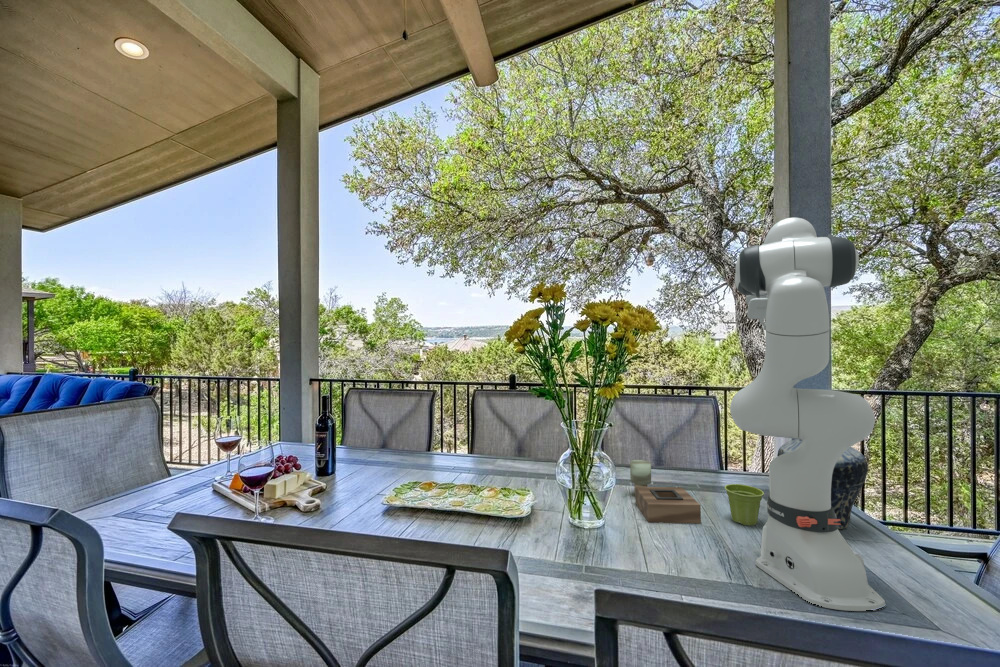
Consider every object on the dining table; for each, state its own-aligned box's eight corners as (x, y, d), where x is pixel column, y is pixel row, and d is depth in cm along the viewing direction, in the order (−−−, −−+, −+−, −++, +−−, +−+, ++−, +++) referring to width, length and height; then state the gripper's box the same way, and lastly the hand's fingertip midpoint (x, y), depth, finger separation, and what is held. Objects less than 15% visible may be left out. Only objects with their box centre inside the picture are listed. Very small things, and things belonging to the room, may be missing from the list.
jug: (891, 540, 104) (887, 418, 105) (811, 540, 105) (808, 418, 105) (827, 507, 125) (825, 406, 126) (761, 507, 125) (759, 406, 126)
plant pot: (753, 514, 120) (753, 484, 121) (771, 529, 111) (771, 496, 111) (719, 513, 121) (719, 483, 121) (734, 528, 112) (733, 495, 112)
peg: (654, 499, 133) (653, 465, 133) (633, 498, 134) (632, 465, 134) (648, 491, 140) (647, 460, 140) (628, 491, 140) (628, 459, 140)
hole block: (700, 523, 115) (700, 503, 115) (648, 522, 116) (648, 502, 116) (682, 503, 129) (681, 486, 129) (635, 503, 130) (635, 485, 130)
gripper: (745, 296, 139) (746, 333, 144) (822, 293, 128) (820, 333, 133) (746, 289, 144) (746, 325, 149) (821, 285, 133) (819, 325, 138)
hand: (782, 329), depth 141 cm, fingers open, 8 cm apart
